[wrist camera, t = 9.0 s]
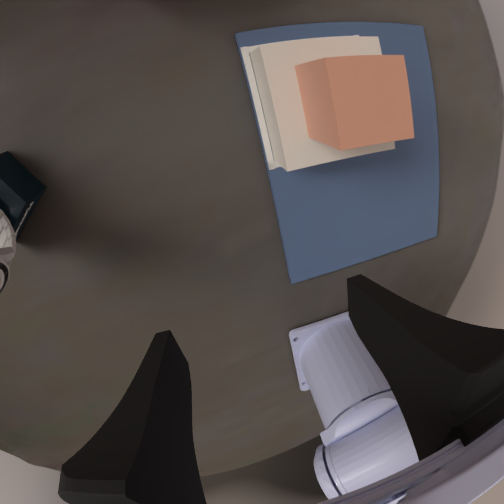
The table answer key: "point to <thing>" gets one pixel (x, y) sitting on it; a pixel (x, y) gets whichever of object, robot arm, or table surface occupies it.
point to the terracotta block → (356, 100)
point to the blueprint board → (355, 166)
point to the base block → (289, 99)
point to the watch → (14, 207)
